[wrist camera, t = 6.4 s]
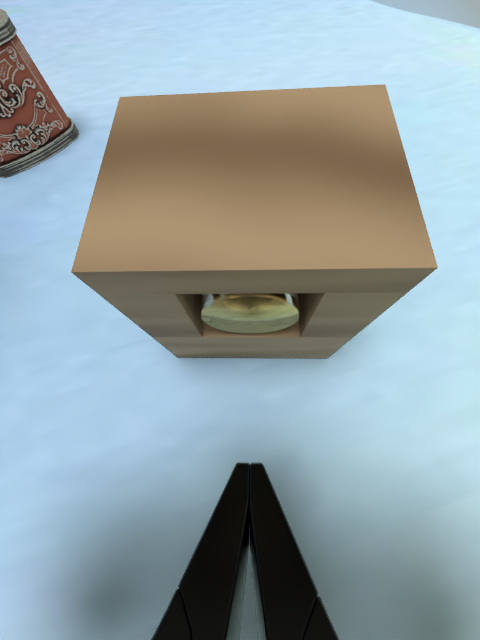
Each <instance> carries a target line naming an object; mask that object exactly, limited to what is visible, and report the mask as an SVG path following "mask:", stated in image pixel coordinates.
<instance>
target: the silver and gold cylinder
mask: <svg viewBox="0 0 480 640" xmlns="http://www.w3.org/2000/svg"><path fill="white" fill-rule="evenodd" d="M201 318H202V320H203V321H204V322H205V323H206V324H208V325H209V326H211V327H214V328H216V329H220V330H223V331H228V332H235V333H266V332H273V331H278V330H281V329H284V328H287V327H289V326H291V325H293V324H294V323H296V322H297V321H298V319H299V302H298V293H259V294H203V296H202V309H201Z"/></svg>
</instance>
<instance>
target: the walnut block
mask: <svg viewBox="0 0 480 640" xmlns="http://www.w3.org/2000/svg"><path fill="white" fill-rule="evenodd" d="M437 268H438V267H437V264H436V260H435V257H434V253H433V250H432V246H431V243H430V239H429V236H428V232H427V229H426V225H425V222H424V218H423V215H422V211H421V208H420V204H419V201H418V197H417V194H416V190H415V187H414V184H413V180H412V177H411V173H410V170H409V166H408V163H407V159H406V156H405V152H404V149H403V145H402V142H401V138H400V135H399V131H398V128H397V124H396V121H395V117H394V114H393V110H392V107H391V103H390V100H389V96H388V93H387V89H386V86H385V85H366V86H345V87H323V88H302V89H281V90H260V91H239V92H218V93H197V94H176V95H155V96H134V97H120V99H119V102H118V106H117V110H116V113H115V117H114V120H113V124H112V128H111V131H110V135H109V138H108V142H107V146H106V149H105V153H104V156H103V160H102V164H101V167H100V171H99V174H98V178H97V182H96V185H95V189H94V192H93V196H92V200H91V203H90V207H89V210H88V214H87V217H86V221H85V225H84V228H83V232H82V235H81V239H80V243H79V246H78V250H77V253H76V257H75V261H74V264H73V268H72V271H71V272H72V273H73V274H74V275H76V276H77V277H78V278H79V279H80V280H82V281H83V282H84V283H85V284H87V285H88V286H89V287H90V288H92V289H93V290H94V291H95V292H97V293H98V294H99V295H100V296H102V297H103V298H104V299H105V300H107V301H108V302H109V303H110V304H112V305H113V306H114V307H115V308H117V309H118V310H119V311H120V312H122V313H123V314H124V315H125V316H127V317H128V318H129V319H130V320H132V321H133V322H134V323H135V324H136V325H138V326H139V327H140V328H141V329H143V330H144V331H145V332H146V333H148V334H149V335H150V336H151V337H153V338H154V339H155V340H156V341H158V342H159V343H160V344H161V345H163V346H164V347H165V348H166V349H168V350H169V351H170V352H171V353H173V354H174V355H175V356H176V357H178V358H328V357H330V356H331V355H332V354H333V353H335V352H336V351H337V350H338V349H339V348H341V347H342V346H343V345H344V344H346V343H347V342H348V341H349V340H350V339H352V338H353V337H354V336H355V335H356V334H358V333H359V332H360V331H361V330H363V329H364V328H365V327H366V326H367V325H369V324H370V323H371V322H372V321H373V320H375V319H376V318H377V317H378V316H380V315H381V314H382V313H383V312H384V311H386V310H387V309H388V308H389V307H391V306H392V305H393V304H394V303H395V302H397V301H398V300H399V299H400V298H401V297H403V296H404V295H405V294H406V293H408V292H409V291H410V290H411V289H412V288H414V287H415V286H416V285H417V284H418V283H420V282H421V281H422V280H423V279H425V278H426V277H427V276H428V275H429V274H431V273H432V272H433V271H434V270H436V269H437ZM259 293H298V302H299V319H298V321H297V322H296V323H294V324H293V325H291V326H289V327H287V328H284V329H281V330H278V331H273V332H266V333H235V332H228V331H223V330H220V329H216V328H214V327H211V326H209V325H208V324H206V323H205V322H204V321H203V320H202V318H201V309H202V296H203V294H259Z"/></svg>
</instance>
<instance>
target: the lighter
mask: <svg viewBox="0 0 480 640" xmlns="http://www.w3.org/2000/svg"><path fill="white" fill-rule="evenodd" d="M78 135H79V132H78V130H77V128H76V127H75V125H74V123H73V122H72V120H71V119H70V118H69V117H67V116H66V114H65V112H64V111H63V109H62V108H61V106H60V104H59V103H58V101H57V99H56V98H55V96H54V95H53V93H52V91H51V90H50V88H49V86H48V85H47V83H46V82H45V80H44V78H43V77H42V75H41V74H40V72H39V70H38V69H37V67H36V65H35V64H34V62H33V61H32V59H31V57H30V56H29V54H28V52H27V51H26V49H25V48H24V46H23V44H22V43H21V41H20V40H19V38H18V36H17V35H16V28H15V27H14V25H13V23H12V22H11V20H10V18H9V17H8V15H7V13H6V12H5V11H4V10H2V9H0V177H1V178H6V177H10V176H13V175H15V174H18V173H20V172H22V171H25V170H27V169H29V168H31V167H33V166H35V165H37V164H39V163H41V162H43V161H45V160H47V159H49V158H50V157H52V156H53V155H55V154H57V153H58V152H60V151H61V150H63V149H64V148H66V147H67V146H68V145H70V144H71V143H72V142H74V141H75V140H76V139H77V138H78Z"/></svg>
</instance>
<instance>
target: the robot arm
mask: <svg viewBox="0 0 480 640" xmlns="http://www.w3.org/2000/svg"><path fill="white" fill-rule="evenodd" d="M249 531H250V555H251V566H252V577H253V589H254V600H255V611H256V622H257V633H258V640H339V638H338V636H337V634H336V632H335V630H334V627H333V625H332V623H331V621H330V619H329V616H328V614H327V612H326V609H325V607H324V605H323V602H322V600H321V598H320V597H319V596H318V591H317V589H316V586H315V584H314V582H313V579H312V577H311V575H310V572H309V570H308V568H307V565H306V563H305V561H304V558H303V556H302V554H301V551H300V549H299V547H298V544H297V542H296V540H295V537H294V535H293V533H292V530H291V528H290V526H289V523H288V521H287V519H286V516H285V514H284V512H283V509H282V507H281V504H280V502H279V500H278V497H277V495H276V493H275V490H274V488H273V486H272V483H271V481H270V479H269V476H268V474H267V472H266V469H265V467H264V465H263V464H262V463H251V464H250V465H249V463H240V462H239V463H237V464H236V465H235V467H234V469H233V471H232V474H231V476H230V478H229V480H228V482H227V484H226V486H225V488H224V490H223V492H222V495H221V497H220V499H219V501H218V503H217V505H216V507H215V509H214V511H213V514H212V516H211V518H210V520H209V522H208V524H207V526H206V528H205V530H204V532H203V535H202V537H201V539H200V541H199V543H198V545H197V547H196V549H195V551H194V553H193V556H192V558H191V560H190V562H189V564H188V566H187V568H186V570H185V572H184V574H183V577H182V579H181V581H180V583H179V585H178V588H179V589H176V591H175V593H174V595H173V597H172V599H171V601H170V603H169V606H168V608H167V610H166V612H165V614H164V616H163V618H162V620H161V622H160V624H159V626H158V628H157V629H156V631H155V633H154V635H153V637H152V639H151V640H239V636H240V627H241V618H242V608H243V599H244V590H245V581H246V571H247V562H248V552H249Z"/></svg>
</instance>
